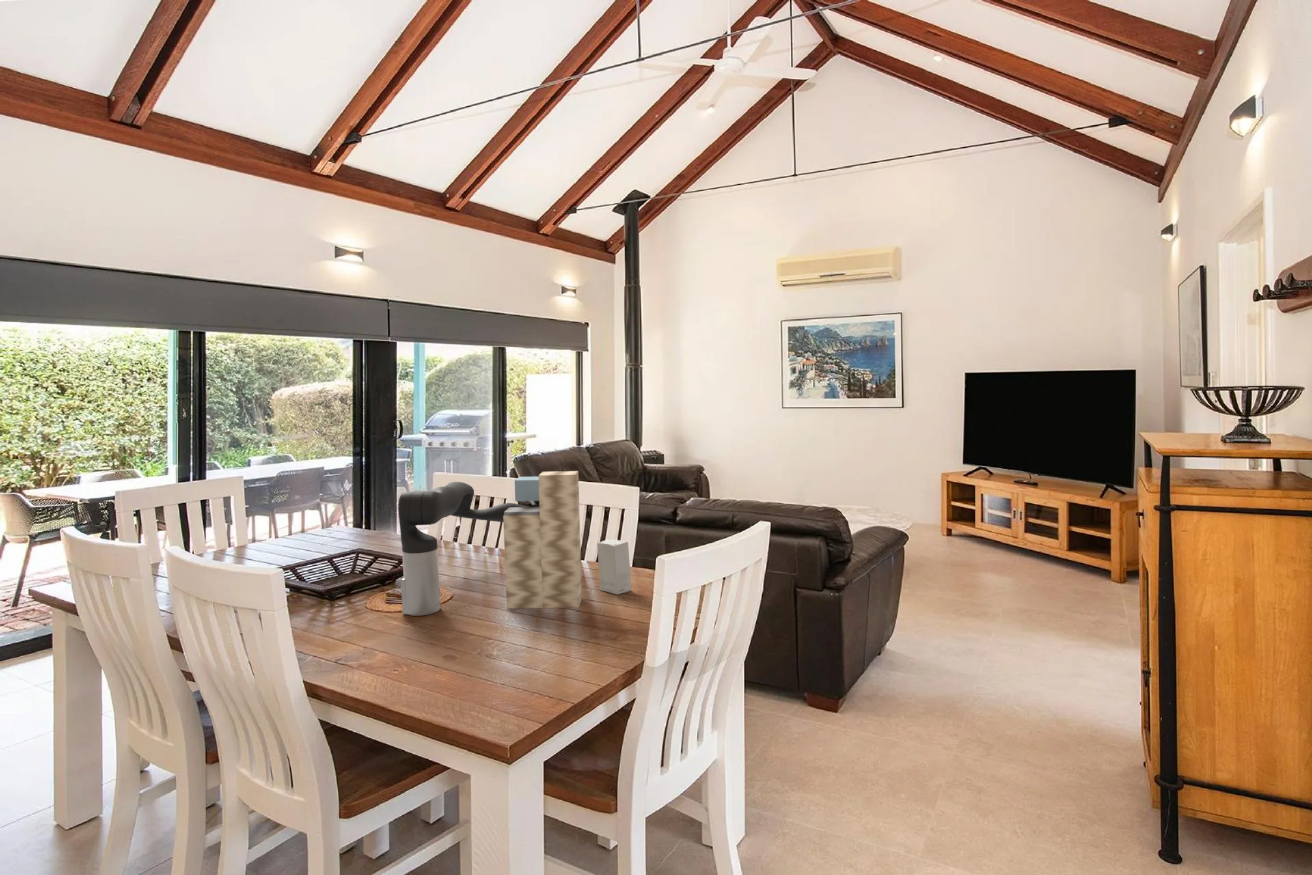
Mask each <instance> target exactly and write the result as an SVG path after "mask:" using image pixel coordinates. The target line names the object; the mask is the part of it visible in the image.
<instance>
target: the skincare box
mask: <svg viewBox="0 0 1312 875" xmlns="http://www.w3.org/2000/svg"><path fill="white" fill-rule="evenodd" d="M596 543H597V558H598V559H597V560H598V572H599V574H598V575H599V578H598V579H599V590H600V591H604V592H606V593H607V592H608V593H610V594H613V595H620V594H624V593H628V592H631V591H632V581H631V580H632V579H631V566H630V563H631V562H630V551H629V541H624V540H619V539H613V538H610V539H605V540H602V541H598V542H596Z"/></svg>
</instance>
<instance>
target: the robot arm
mask: <svg viewBox="0 0 1312 875" xmlns="http://www.w3.org/2000/svg"><path fill="white" fill-rule="evenodd" d="M474 497H475V491H474V488H473V486H472V485H470V484H468V483H465V482H461V481H452V482H448V483H447V484H446V485H445V486H438V487H435V488H432V489H430V490H423V491H422V490H421V491H420V490H419V491H418V490H415V491H404V492H402V493H401V494H400V496H399V499H398V504H397V509H398V510H397V511H398V522H399V523H398V524H399V530H400V532H399V533H400V542H401V549H402V550H401V551H402V552H401V553H402V568H403V569H402V572H403V578H402V579H401V580H400V588H401V605H402V611H401V612H402V615H409V616H412V617H413V616H414V617H415V616H417V617H420V616H429V615H432V614H436V613H438V612H439V611H440V609H441V593H440V592H441V590H440V571H439V552H438V551H439V548H438V539H437V538H436V537H435V536H434V535H430V534H428V533H425V532H423V531H421V530H420V529H419V528H418V527H417V526H430V525H435V524H437V523H438V522H439V521H440V520H442V519H444V518H448V517H449V516H453V517H457V518H463V519H472V520H478V521H487V522H498V523H503V524H504V521H503V516H504V512H505V511H506V510H507V509H508V508H509V507H540V506H539V501H524V502H525V503H526V504H528V506H527V505H523V504H520V503H521V502H522V501H516V502H517V503H514V502H513V503H512V502H505V503H501V504H497V505H494V506H492V507H487V508H484V509H483V508H482V509H471V506H472V504H473V500H474Z"/></svg>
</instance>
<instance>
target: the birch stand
mask: <svg viewBox="0 0 1312 875" xmlns="http://www.w3.org/2000/svg"><path fill="white" fill-rule="evenodd" d="M538 477H539V506H540V507H529V506H528V507H509V508H508V509H507V510H506V511H505V512H504V516H503V521H504V523H503V539H504V540H503V541H504V543H503V545H504V546H503V548H504V572H505V594H506V595H505V596H506V599H505V600H506V609H508V610H509V609H510V610H511V609H551V608H552V609H554V608H555V609H561V608H580V606H581V602H582V601H583V600H582V599H583V592H582V591H583V590H582V561H581V560H582V559H581V526H580V525H581V524H580V522H581V521H580V517H581V516H580V493H579V492H580V491H579V490H580V487H579V486H580V485H579V470H570V471H568V470H567V471H566V470H565V471H564V470H563V471H557V470H556V471H555V470H554V471H541V473H539V474H538Z"/></svg>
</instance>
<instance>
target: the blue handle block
mask: <svg viewBox="0 0 1312 875" xmlns="http://www.w3.org/2000/svg"><path fill="white" fill-rule="evenodd" d="M514 500H515V502H517V501H521V502H525V501H539V476H519V477H517V478H515V479H514Z"/></svg>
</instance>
